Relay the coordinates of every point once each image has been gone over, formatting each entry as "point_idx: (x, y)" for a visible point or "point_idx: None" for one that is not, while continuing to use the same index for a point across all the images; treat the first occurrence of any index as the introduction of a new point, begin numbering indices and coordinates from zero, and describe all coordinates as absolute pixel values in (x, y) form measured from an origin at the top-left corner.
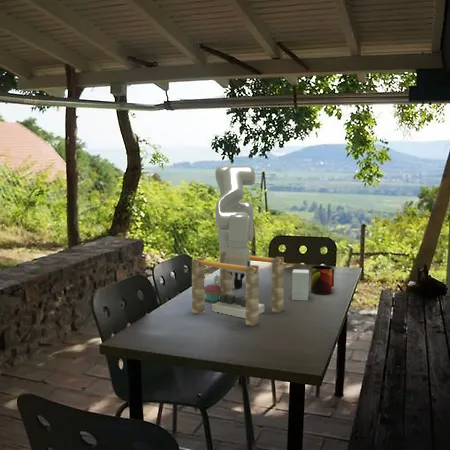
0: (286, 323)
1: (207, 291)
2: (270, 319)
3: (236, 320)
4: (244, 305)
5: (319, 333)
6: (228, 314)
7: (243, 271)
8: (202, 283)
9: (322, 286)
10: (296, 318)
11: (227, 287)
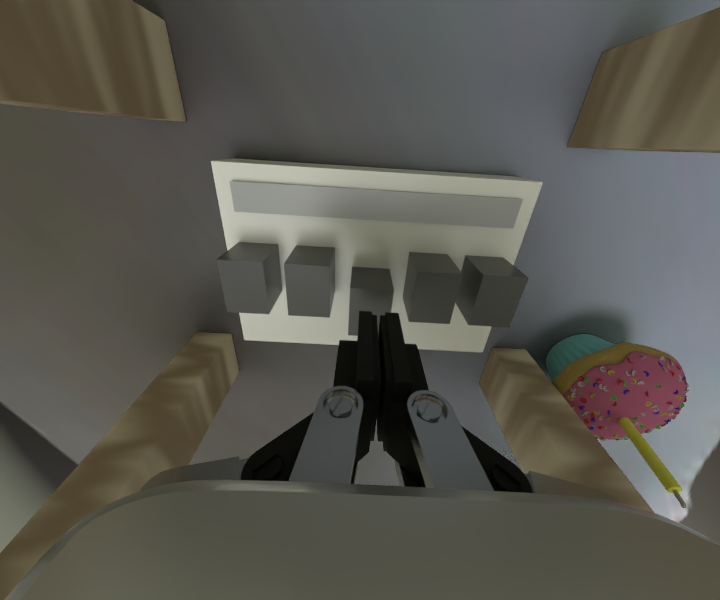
0: (29, 206)
1: (646, 353)
2: (143, 224)
3: (279, 82)
4: (303, 249)
5: None
6: (388, 168)
7: (73, 546)
8: None
9: None
10: (74, 302)
11: (526, 421)
